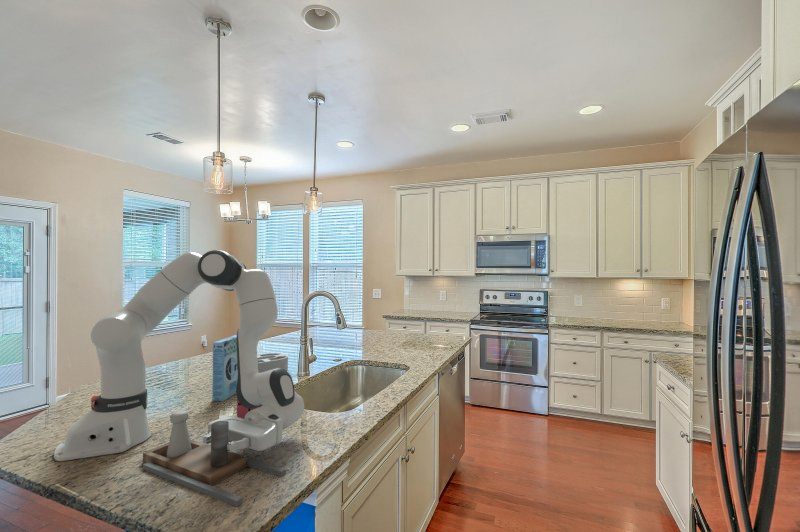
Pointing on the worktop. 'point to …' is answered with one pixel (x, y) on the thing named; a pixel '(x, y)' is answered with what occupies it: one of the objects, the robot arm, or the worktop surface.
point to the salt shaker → (179, 435)
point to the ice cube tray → (272, 361)
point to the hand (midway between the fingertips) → (216, 444)
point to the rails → (208, 488)
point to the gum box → (224, 368)
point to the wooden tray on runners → (202, 458)
